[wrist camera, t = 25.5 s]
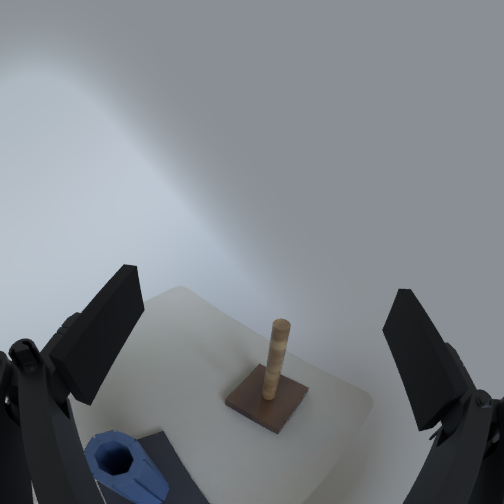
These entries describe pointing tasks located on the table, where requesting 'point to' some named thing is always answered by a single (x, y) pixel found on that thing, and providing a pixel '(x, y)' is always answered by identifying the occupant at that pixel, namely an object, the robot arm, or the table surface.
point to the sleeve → (125, 468)
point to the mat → (165, 458)
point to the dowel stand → (269, 387)
